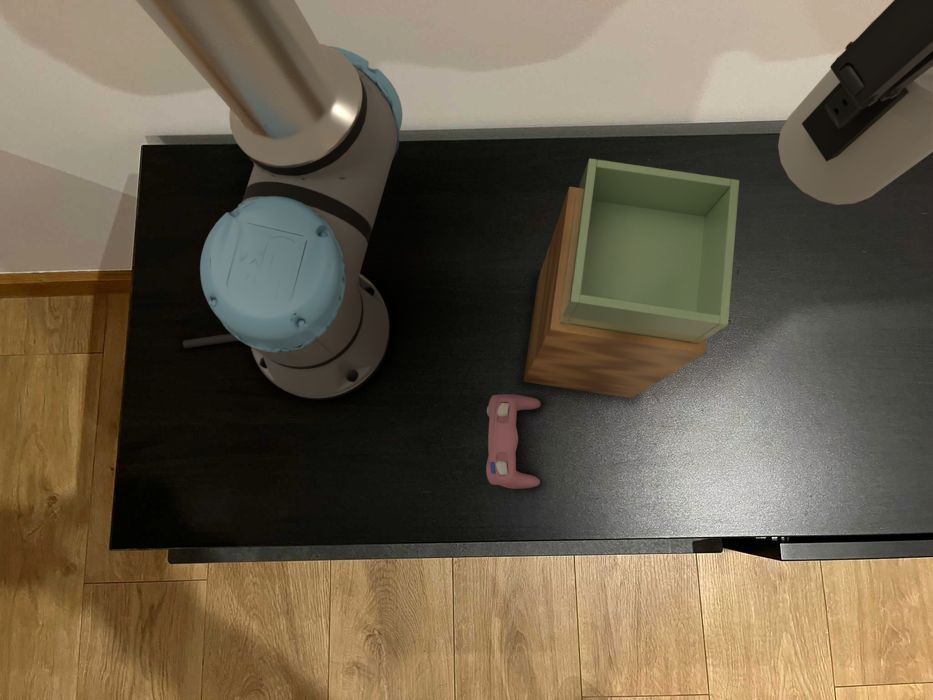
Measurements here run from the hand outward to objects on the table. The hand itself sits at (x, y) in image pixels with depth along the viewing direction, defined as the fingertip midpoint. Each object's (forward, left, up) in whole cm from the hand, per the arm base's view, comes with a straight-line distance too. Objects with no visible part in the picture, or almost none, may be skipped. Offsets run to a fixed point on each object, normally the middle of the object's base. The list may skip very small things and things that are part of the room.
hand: (877, 111), depth 41 cm
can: (0, 0, -6) cm, 6 cm away
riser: (-10, -6, -39) cm, 40 cm away
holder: (-10, -6, -15) cm, 19 cm away
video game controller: (-16, -19, -39) cm, 46 cm away
